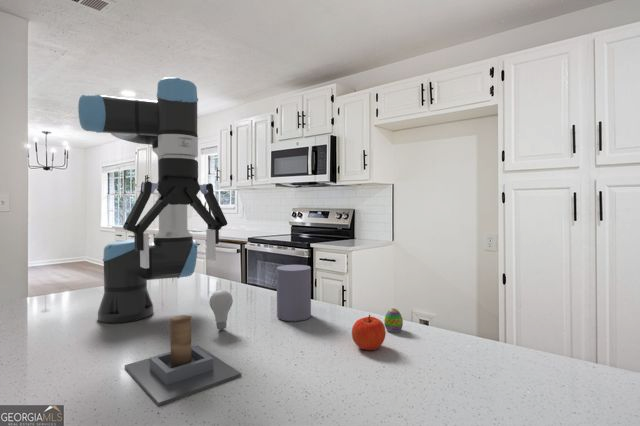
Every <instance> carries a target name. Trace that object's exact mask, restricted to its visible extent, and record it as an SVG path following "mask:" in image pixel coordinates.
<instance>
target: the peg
mask: <svg viewBox="0 0 640 426" xmlns="http://www.w3.org/2000/svg"><path fill="white" fill-rule="evenodd" d="M169 320H170V321H169V322H170V323H169V326H170V327H169V328H170V329H169V330H170V332H169V333H170V336H169V337H170V338H169V339H170V352H171V369H172V368H175V367H178V366H181V365H185V364H188V363H191V362H192V347H191V346H192V316H191V315H185V314H184V315H177V316H173V317H170V319H169Z"/></svg>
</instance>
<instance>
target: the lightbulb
mask: <svg viewBox="0 0 640 426" xmlns="http://www.w3.org/2000/svg"><path fill="white" fill-rule="evenodd" d="M233 299H234V298H233V296H232V294H231V293H230V292H229V291H228V290H226V289H218V290H215V291H214V292H213V293H212V294H211V295H210V298H209V303H208V304H209V306H210V308H211V310H212V312H213V314H214V319H215V322H216V323H215V325H216V329H217V330H219V331H224V330H225V329H226V328H227V321H228V316H229V312H230V310H231V307H232V306H233V301H234V300H233Z"/></svg>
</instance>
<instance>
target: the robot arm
mask: <svg viewBox="0 0 640 426" xmlns="http://www.w3.org/2000/svg"><path fill="white" fill-rule="evenodd" d="M78 99H79V100H78V105H77V106H78V107H77V110H78V119H79V125H80V127H81V129H82V130H84V131H86V132H93V133H98V134H99V133H103V134H104V133H105V134H110V135H111V136H113V137H115V138H117V139H120V140H122V141H126V142H129V143H134V144H141V145H151V146H152V148H151V151H152V152H154V153H155V155H156V156H157V183H156V182H151V181H149V180H146V181H142V182H141V185H140V190H139V191H140V193H139V195H138V197H137V198H136V201H135V202H134V204H133V206H132V209H130V213H129V214H128V216H127V218H126V220H125V222H124V223H123V225H122V226H123V227H122V228H123V230H125V231H128V232H131V233H133V236H134V237H133V238H130V239H124V240H119V241H115V242H111V243H108V244H106V245H105V246H104V248H103V259H102V262H103V288H104V289H103V291H104V292H103V296H102V298H101V301H100V305H99V307H98V311H97V320H98V321H99V322H100V323H107V324H121V323H129V322H134V321H138V320H143V319H145V318H148V317H150V316H152V315H153V314H154V303H153V301H152V299H151V296H150V293H149V291H148V283H147V282H148V281H153V280H162V279H163V280H164V279H175V278H177V279H180V278H187V277H191V276H192V275H193V274H194V273H195V269H196V265H197V258H198V241H197V240H196V239H193V237H194V236H193V234H192V233H191V232H189V230H188V206H189V205H190V207H192V208H193V210H194V211H195V212H196V213H197V214H198V215H199V216H200V218H201V219H202V220H203V221H204V222H205V224H206V225H207V226H208V227H209V228H208V229H207V228H206V232H205V234H206V238H205V240H206V260H207V261H209V260H210V261H216V260H217V259H216V256H217V255H216V248H217V247H216V245H218V244H219V242H220V232H219V231H220V230H222V227H226V226H227V225H228V221H227V219H226V217H225V214H224V212H223V210H222V208H221V206H220V204H219V202H218V200H217V197H216V195H215V191H214V185H213V183H210V182H209V183H208V182H207V183H203V184H199V162H198V160H197V158H198V156H199V145H198V144H199V138H198V102H199V98H198V88H197V86H196V84H195V83H194V82H192V81H191V80H188V79H185V78H182V77H181V78H179V77H164V78H162V79H159V80H158V82H157V90H156V99H157V100H149V99H139V98H127V97H119V96H118V97H117V96H107V95H101V94H82V95H81V96H80V97H79V98H78ZM156 190H157V192H158V193H157V197H158V199H157V200H156V201H155V203H154V204H153V206H152V207H151V208H150V209H149V210H148V211H147V212H146V214H145V215H144V216H143V217H142V218H141V219H140V217H141V215H142V214H143V211H144V209H145V207H146V206H147V203H148V201H149V200H150V198H151V195H152V194H154V193H155V191H156ZM199 192H201V194H202V195H203V196H204V199H205V201H206V204H207V206H208V207H209V210H210V211H209V210H208V209H207V208H206V207H205V205H204V204H203V203H202V202H203V201H202V200H201V199H200V198H199V196H198V193H199ZM210 212H211V213H210ZM157 217H158V231H157V233H156V234H155V235H153V241H151V242H150V241H149V239H150V238H149V237H150V236H149V233H148V232H147V233H146V230H147V229H148V228H149V227H150V226H151V224H152V223H153V222H154V221H155V220H156V219H157ZM139 219H140V221H139ZM138 221H139V222H138Z"/></svg>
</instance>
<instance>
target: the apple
mask: <svg viewBox="0 0 640 426" xmlns="http://www.w3.org/2000/svg"><path fill="white" fill-rule="evenodd" d="M351 337H352V340H353V343H354V344H355V345H356V346H357V347H359V349H362V350H366V351H375V350H377V349H379V348H380V347H381V346H382V345H383V344H384V341H385V339H386V327H385V324H384V322H383V321H382V320H380V319H379V318H377V317H375V316H371V314H368V316H365V317H362V318H361V317H360V319H357V320H356V321H355V322H354V324H353V325H352V328H351Z"/></svg>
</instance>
